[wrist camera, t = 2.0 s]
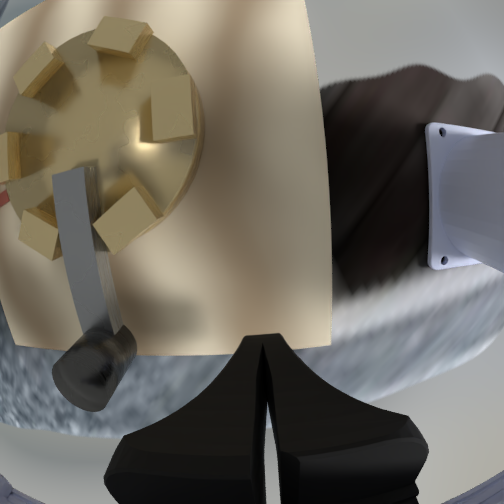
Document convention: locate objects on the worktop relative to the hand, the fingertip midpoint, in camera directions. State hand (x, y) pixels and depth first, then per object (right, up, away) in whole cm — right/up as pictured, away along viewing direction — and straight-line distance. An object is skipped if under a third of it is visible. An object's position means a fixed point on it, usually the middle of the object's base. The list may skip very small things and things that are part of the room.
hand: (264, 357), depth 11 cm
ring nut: (-7, +6, +2) cm, 10 cm away
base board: (-7, +9, +3) cm, 12 cm away
